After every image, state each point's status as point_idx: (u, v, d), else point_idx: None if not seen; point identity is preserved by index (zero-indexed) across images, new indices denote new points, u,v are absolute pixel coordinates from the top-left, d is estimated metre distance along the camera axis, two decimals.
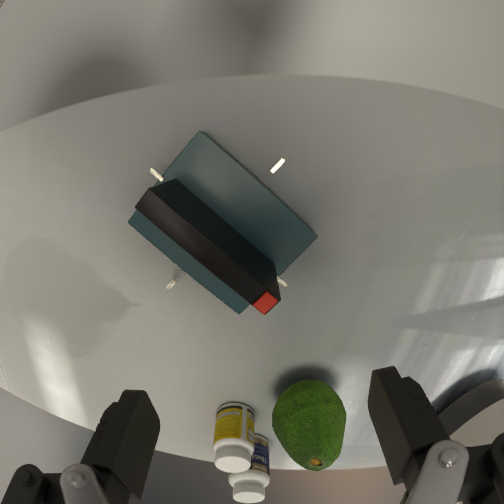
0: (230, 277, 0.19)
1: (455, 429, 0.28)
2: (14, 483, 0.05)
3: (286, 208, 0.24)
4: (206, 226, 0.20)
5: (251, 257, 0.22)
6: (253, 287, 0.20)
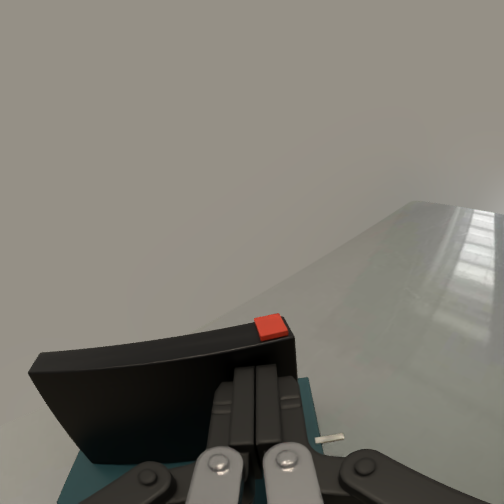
0: (196, 346, 0.11)
1: None
2: (130, 474, 0.06)
3: None
4: None
5: None
6: (236, 332, 0.11)
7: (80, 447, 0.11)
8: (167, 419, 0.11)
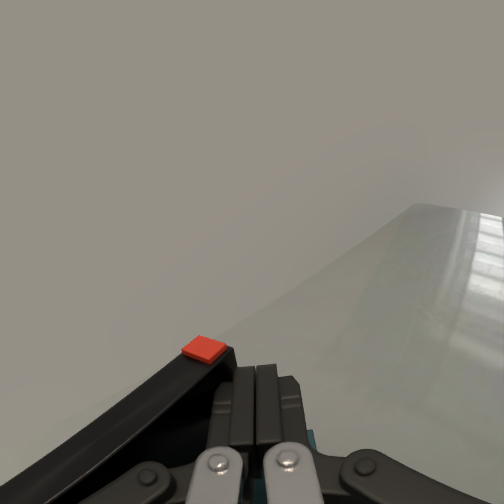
0: (152, 401, 0.08)
1: None
2: (129, 474, 0.06)
3: None
4: None
5: None
6: (175, 369, 0.09)
7: None
8: None
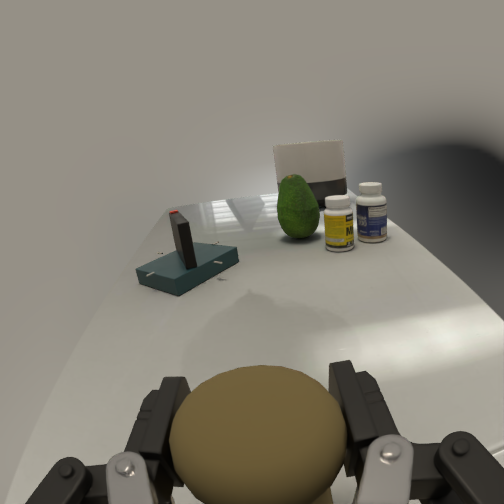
0: (177, 214, 0.46)
1: None
2: (52, 474, 0.05)
3: None
4: (175, 230, 0.44)
5: (174, 234, 0.48)
6: (173, 213, 0.48)
7: None
8: None
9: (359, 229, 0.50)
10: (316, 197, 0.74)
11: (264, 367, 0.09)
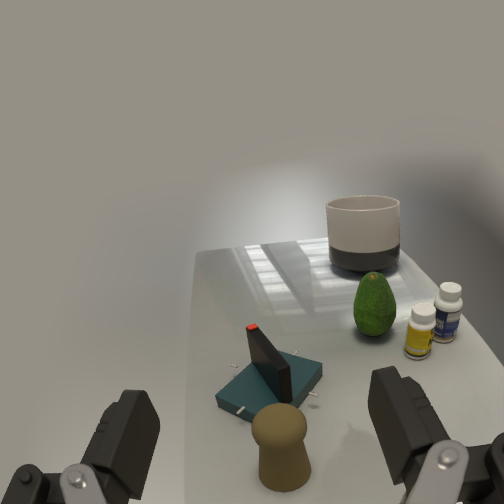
0: (261, 336, 0.40)
1: (355, 253, 0.69)
2: (14, 483, 0.05)
3: None
4: (265, 361, 0.38)
5: (255, 354, 0.42)
6: (254, 332, 0.42)
7: (291, 392, 0.36)
8: None
9: None
10: (373, 267, 0.68)
11: (281, 404, 0.26)
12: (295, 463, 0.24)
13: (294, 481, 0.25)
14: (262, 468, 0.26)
